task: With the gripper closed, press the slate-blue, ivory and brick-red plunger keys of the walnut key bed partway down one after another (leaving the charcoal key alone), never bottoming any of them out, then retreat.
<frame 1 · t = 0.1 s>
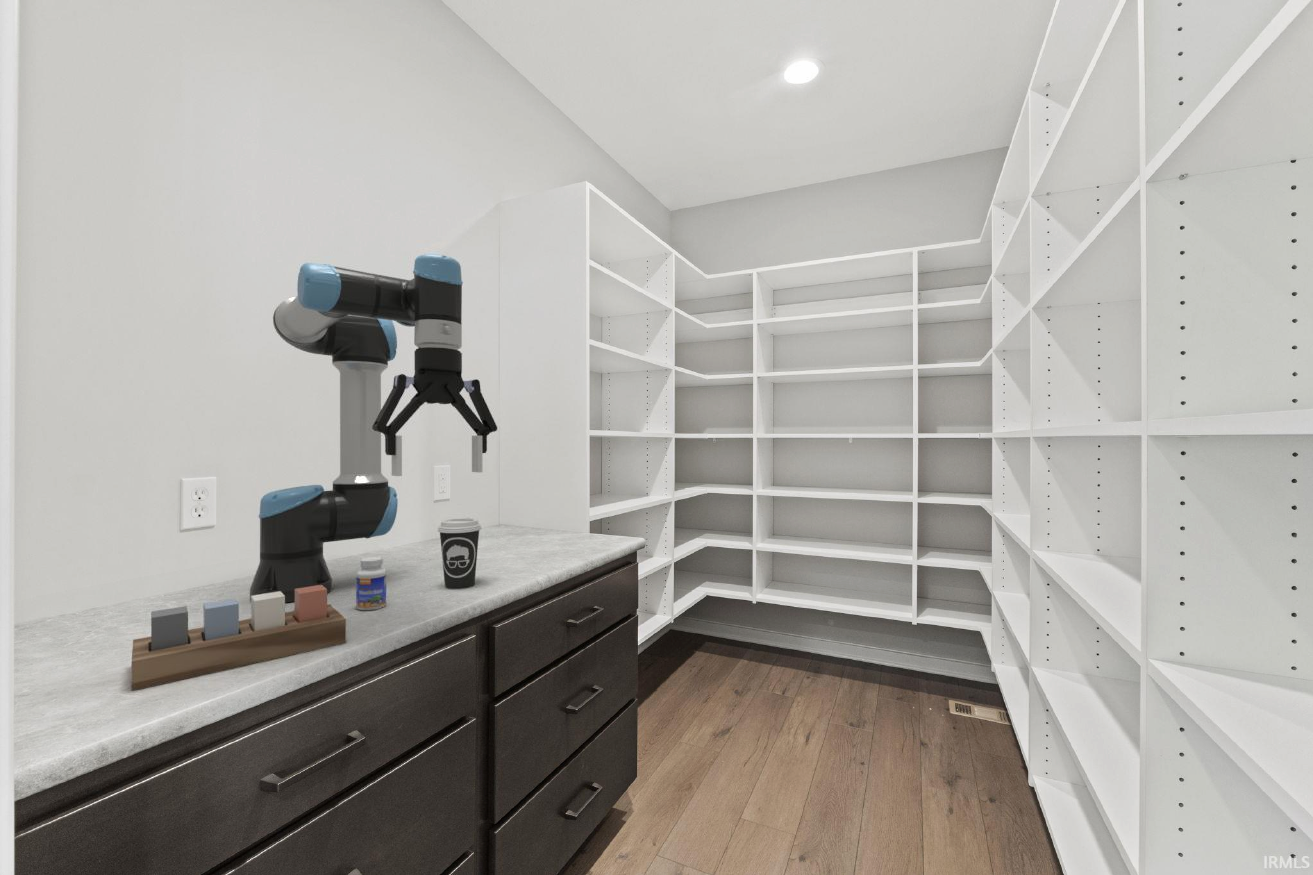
hand: (438, 474, 95), 28 cm above the countertop, fingers open, 13 cm apart
key blue: (221, 619, 86), point 6 cm above the countertop, slide at 0.0 cm
key charcoal: (169, 628, 82), point 6 cm above the countertop, slide at 0.0 cm
pill bottle: (371, 608, 113), on the countertop
key ivory: (268, 611, 90), point 6 cm above the countertop, slide at 0.0 cm
key bed: (245, 653, 88), on the countertop
key brick: (310, 603, 94), point 6 cm above the countertop, slide at 0.0 cm
coffee cup: (459, 586, 129), on the countertop
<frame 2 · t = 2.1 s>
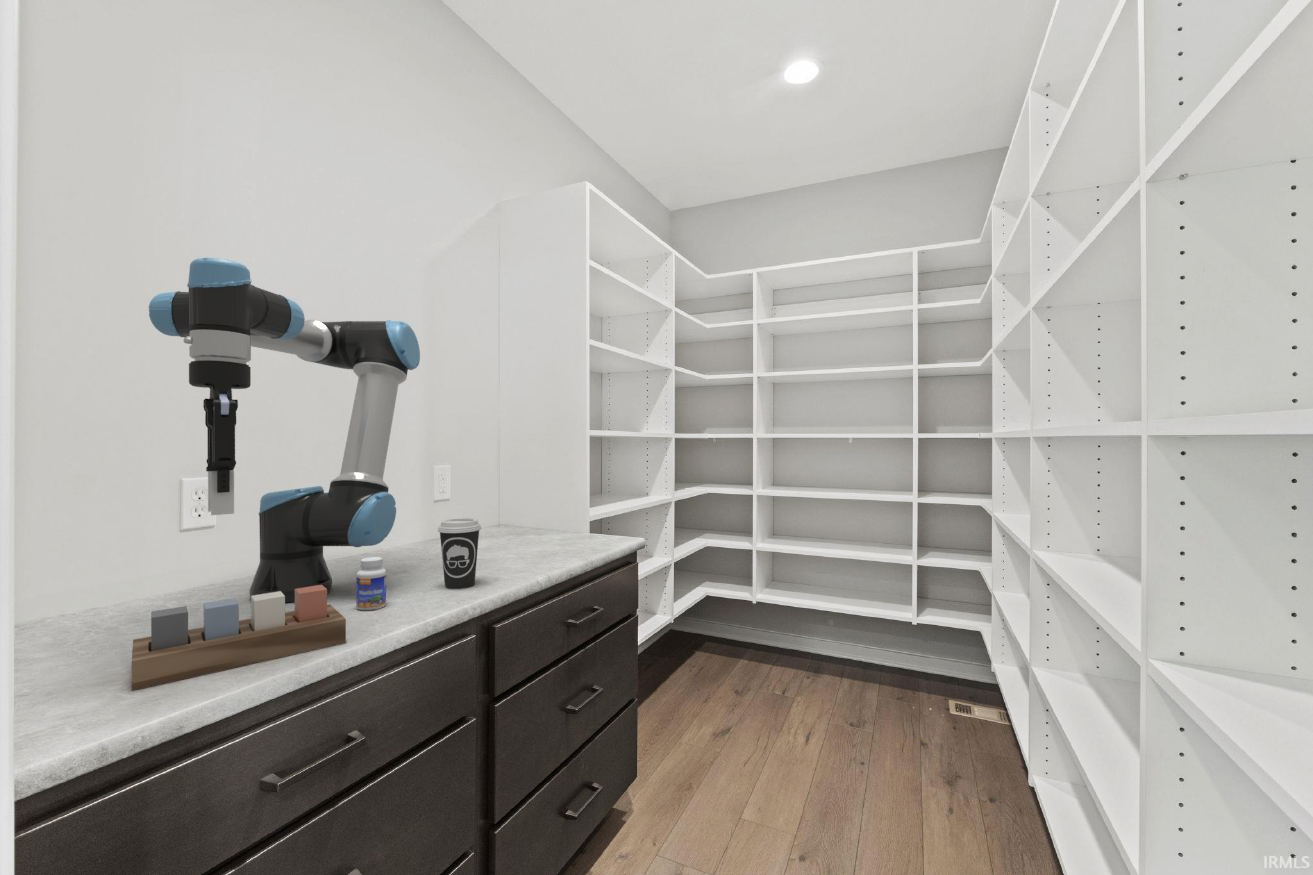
hand: (220, 512, 86), 23 cm above the countertop, fingers open, 5 cm apart
nothing on the countertop moved.
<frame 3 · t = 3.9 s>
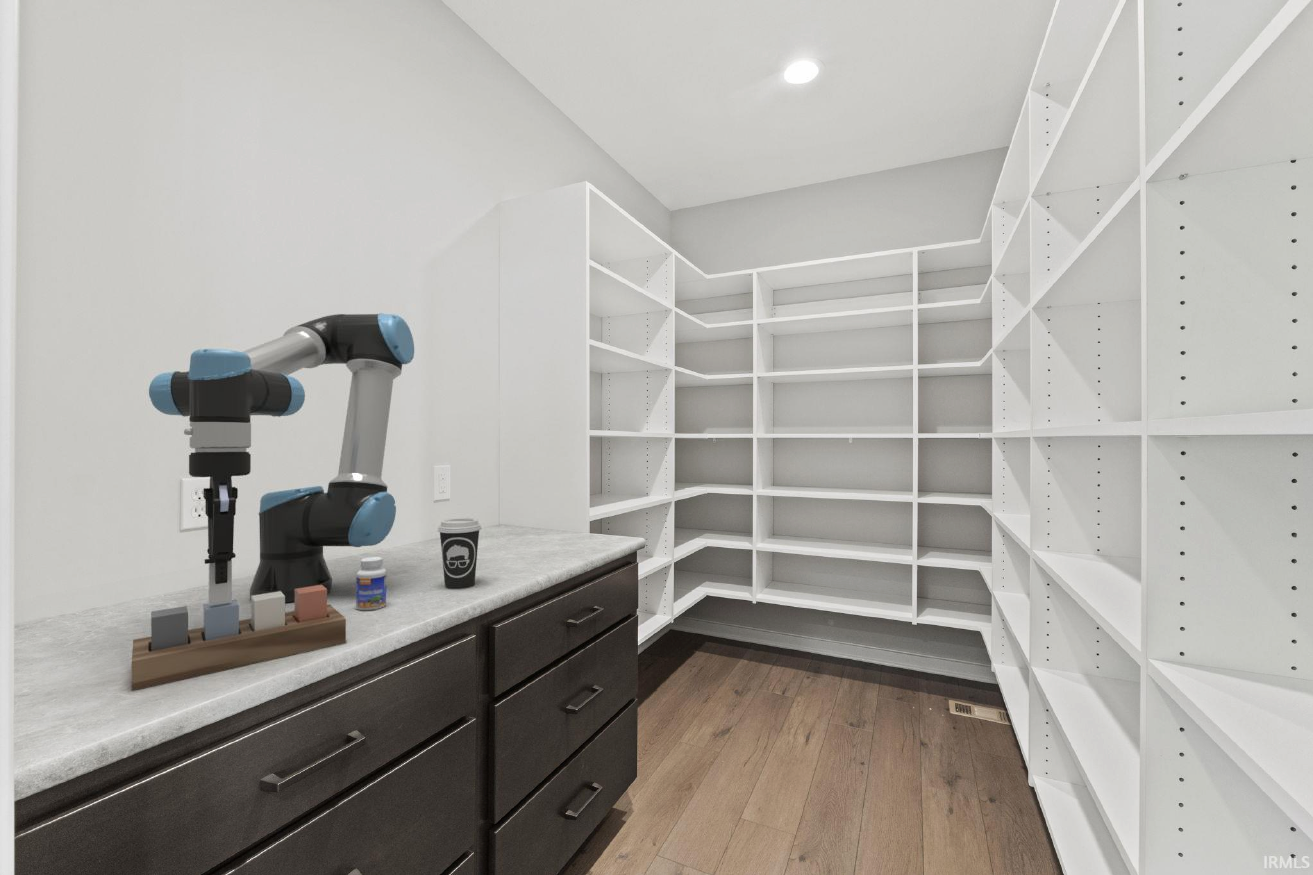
hand: (220, 603, 86), 9 cm above the countertop, fingers closed
key blue: (221, 620, 86), point 6 cm above the countertop, slide at 0.2 cm, touching gripper
everything else where it was.
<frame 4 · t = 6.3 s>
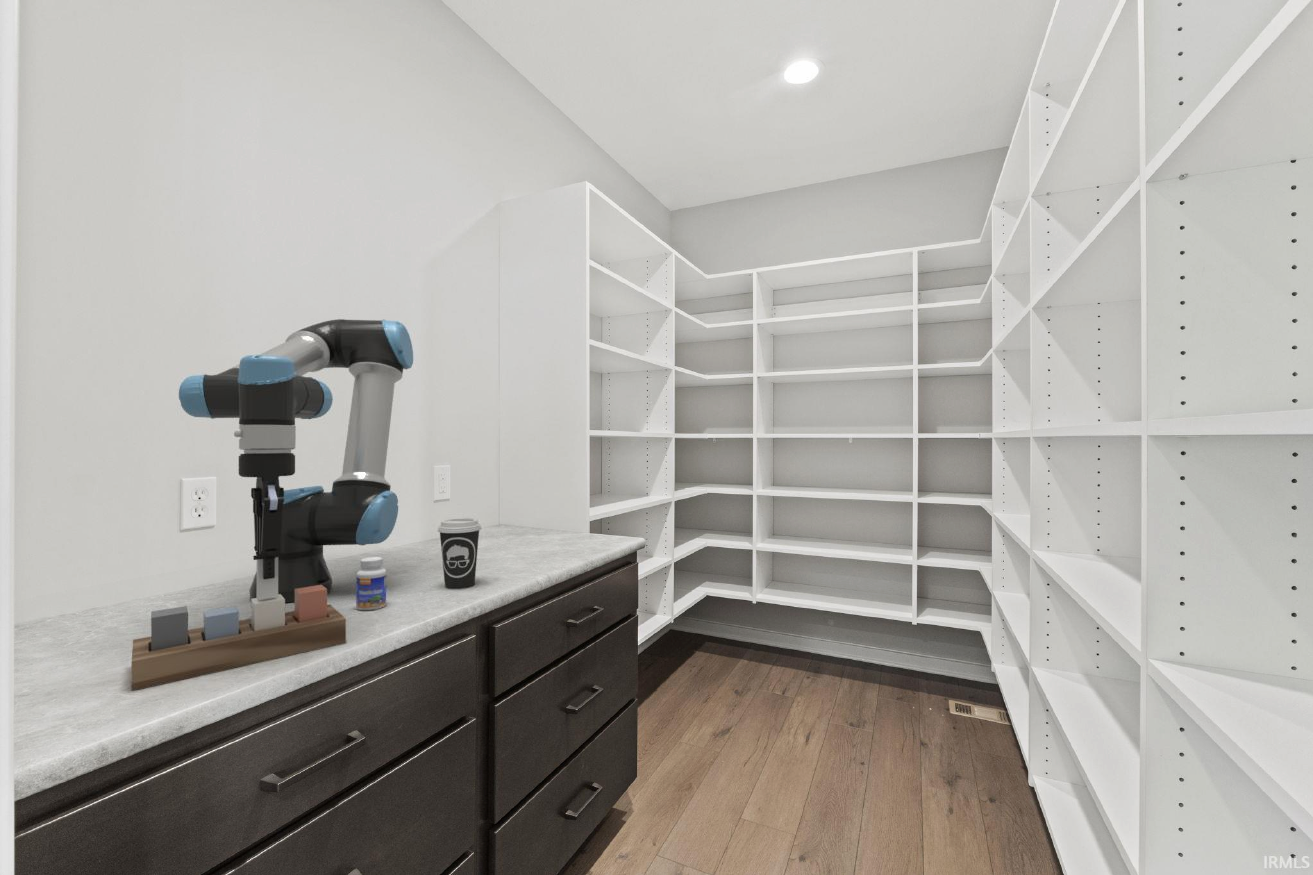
hand: (267, 597, 90), 8 cm above the countertop, fingers closed
key blue: (221, 627, 86), point 5 cm above the countertop, slide at 1.2 cm
key ivory: (268, 614, 90), point 6 cm above the countertop, slide at 0.5 cm, touching gripper
everything else where it was.
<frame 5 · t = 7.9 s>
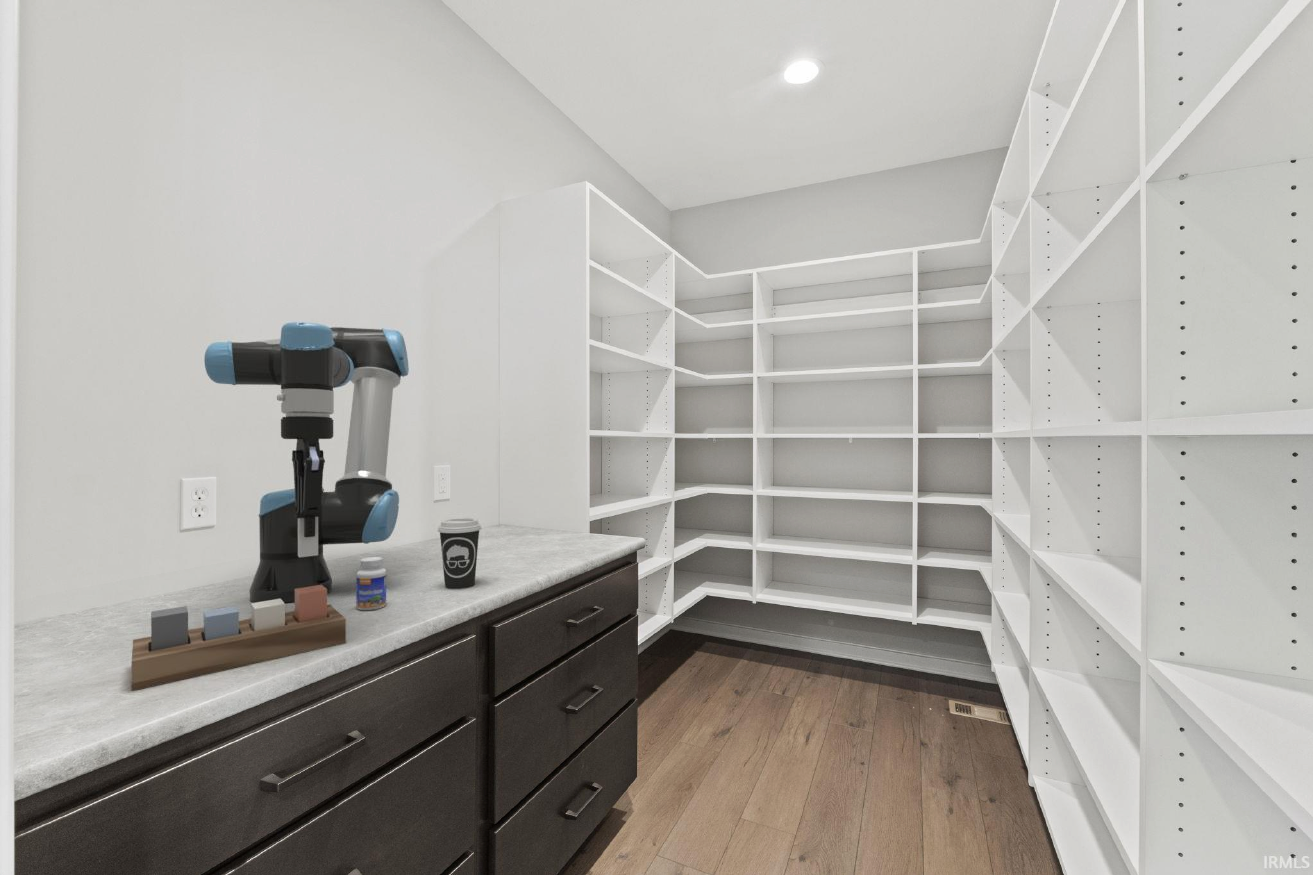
hand: (308, 555, 94), 14 cm above the countertop, fingers closed
key ivory: (268, 618, 90), point 5 cm above the countertop, slide at 1.2 cm
everything else where it was.
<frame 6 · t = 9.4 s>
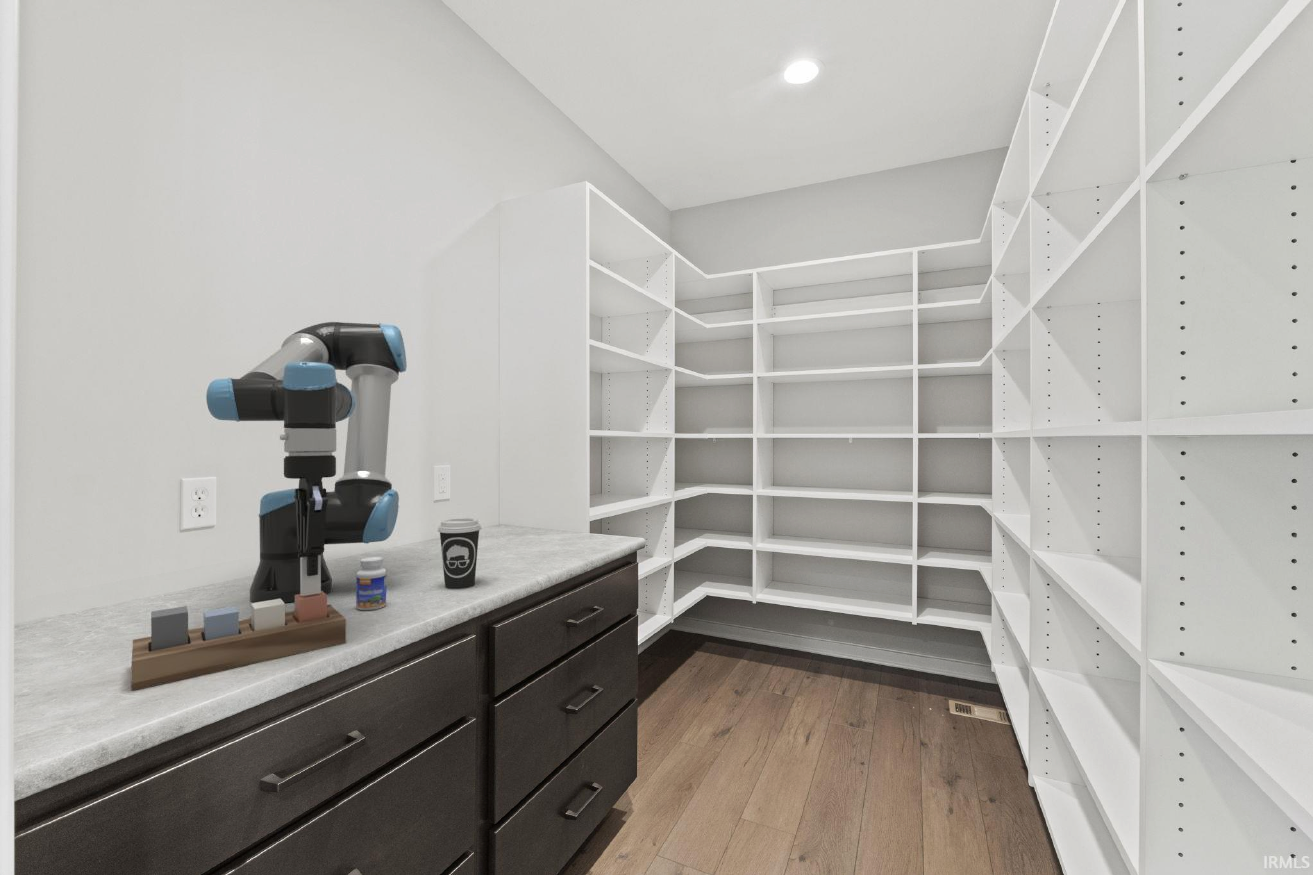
hand: (310, 593, 94), 8 cm above the countertop, fingers closed
key brick: (310, 609, 94), point 5 cm above the countertop, slide at 1.0 cm, touching gripper
everything else where it was.
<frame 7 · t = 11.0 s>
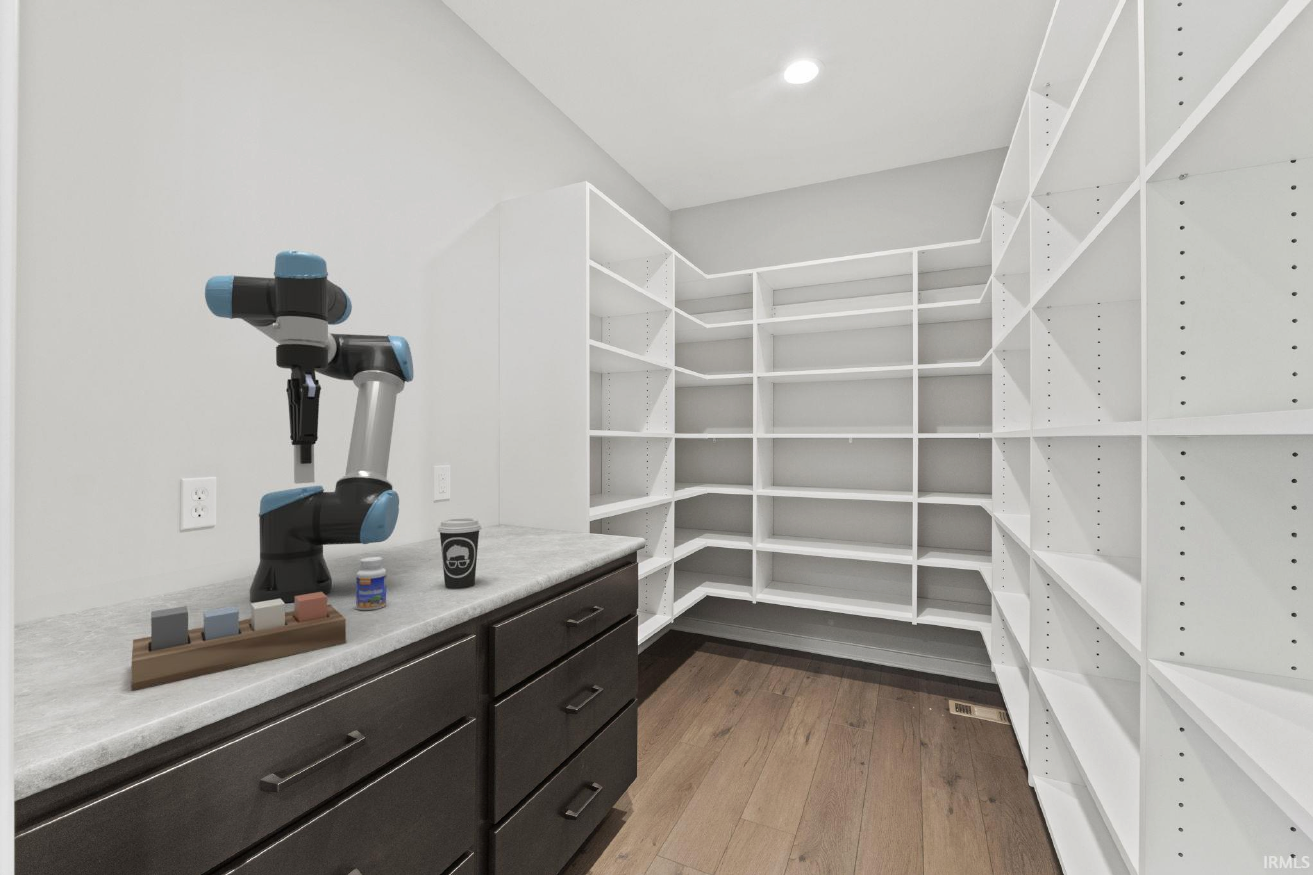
hand: (304, 482, 96), 26 cm above the countertop, fingers closed
key brick: (310, 611, 94), point 5 cm above the countertop, slide at 1.2 cm
everything else where it was.
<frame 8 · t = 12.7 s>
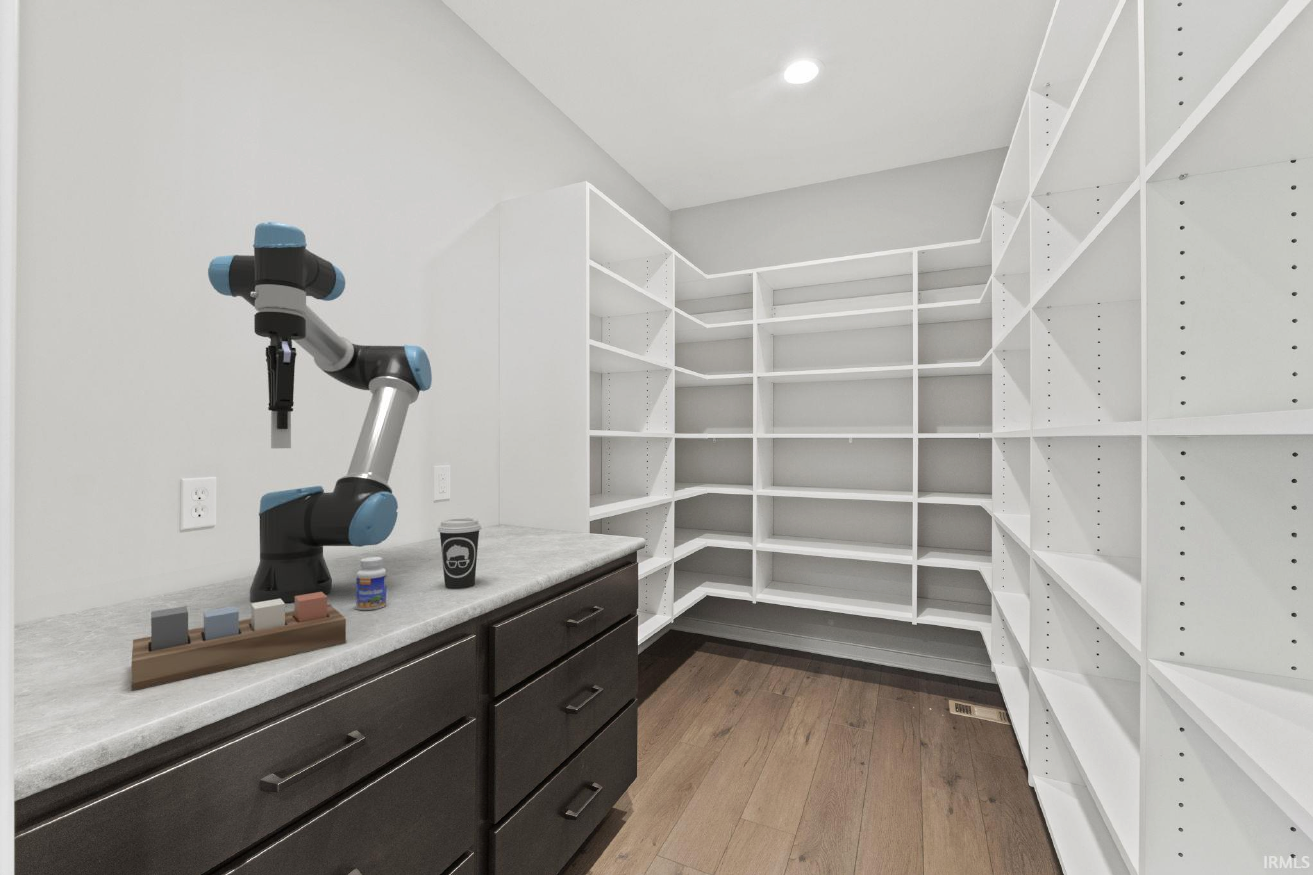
hand: (281, 448, 98), 32 cm above the countertop, fingers closed
nothing on the countertop moved.
at the end: key blue slide at 1.2 cm; key ivory slide at 1.2 cm; key brick slide at 1.2 cm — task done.
